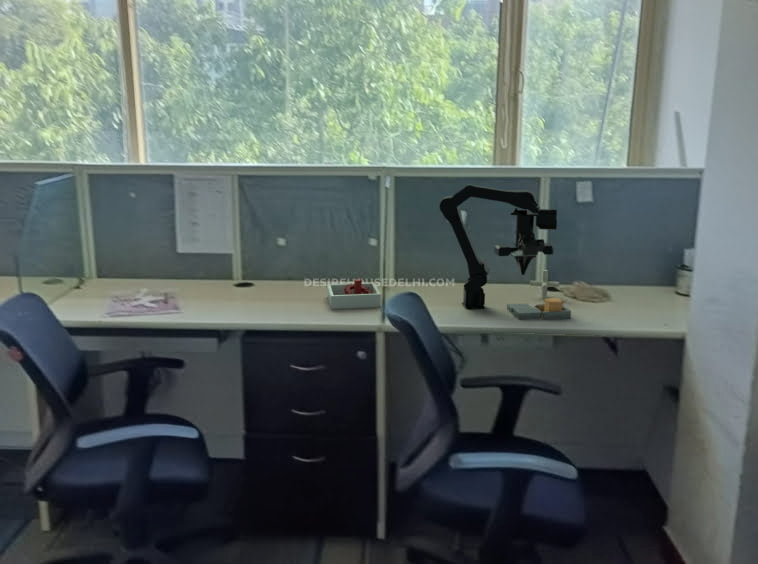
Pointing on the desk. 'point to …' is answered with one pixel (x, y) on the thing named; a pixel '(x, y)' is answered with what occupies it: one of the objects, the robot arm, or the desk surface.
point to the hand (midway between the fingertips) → (522, 274)
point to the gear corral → (353, 297)
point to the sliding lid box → (541, 313)
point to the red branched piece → (356, 288)
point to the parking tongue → (516, 306)
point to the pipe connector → (544, 284)
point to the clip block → (553, 304)
